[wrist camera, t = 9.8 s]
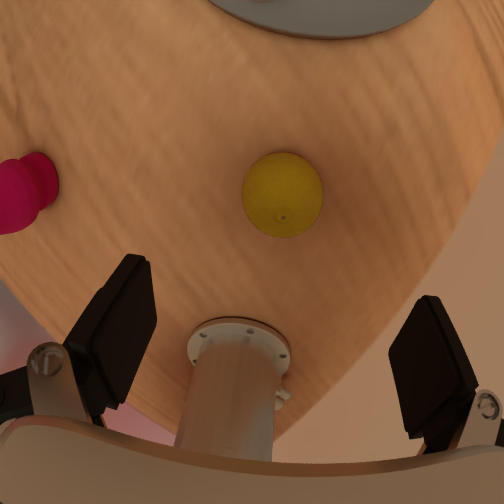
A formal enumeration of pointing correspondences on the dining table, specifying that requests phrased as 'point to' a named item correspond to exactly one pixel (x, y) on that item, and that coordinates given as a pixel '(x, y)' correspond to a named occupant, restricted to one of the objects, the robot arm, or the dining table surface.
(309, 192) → the lemon
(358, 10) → the turntable
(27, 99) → the dining table surface
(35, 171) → the pepper mill
